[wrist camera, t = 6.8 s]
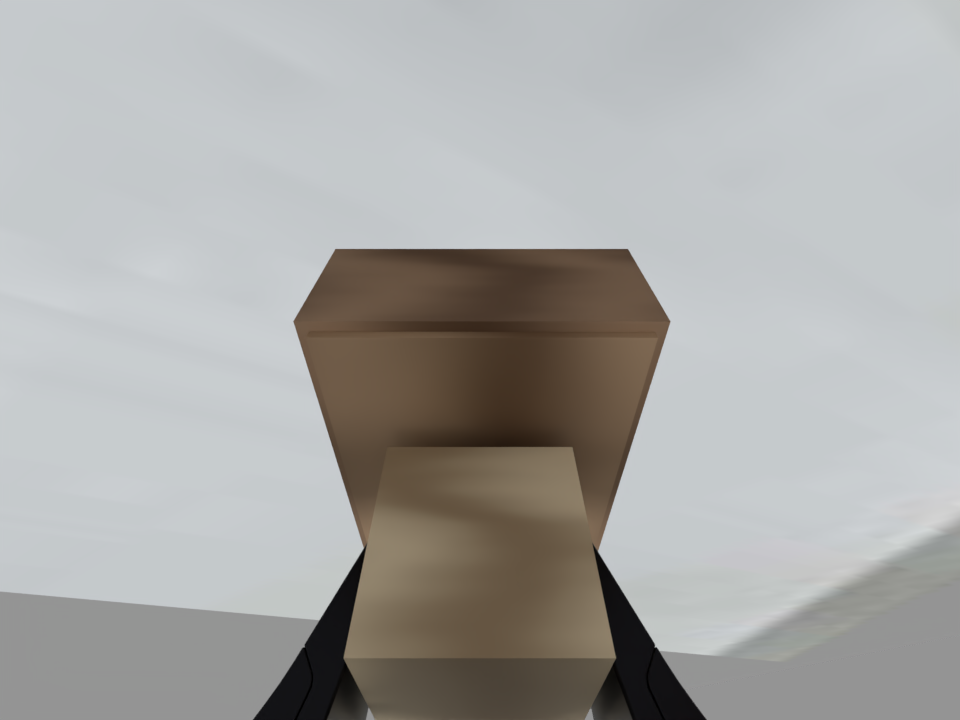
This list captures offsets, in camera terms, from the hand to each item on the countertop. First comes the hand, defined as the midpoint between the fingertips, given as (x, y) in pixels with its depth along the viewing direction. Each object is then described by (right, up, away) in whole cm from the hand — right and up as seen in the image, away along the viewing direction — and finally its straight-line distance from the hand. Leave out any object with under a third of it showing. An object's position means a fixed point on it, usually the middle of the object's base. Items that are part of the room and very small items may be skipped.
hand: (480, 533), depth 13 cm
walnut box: (0, +4, +5) cm, 6 cm away
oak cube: (0, +1, +1) cm, 1 cm away
